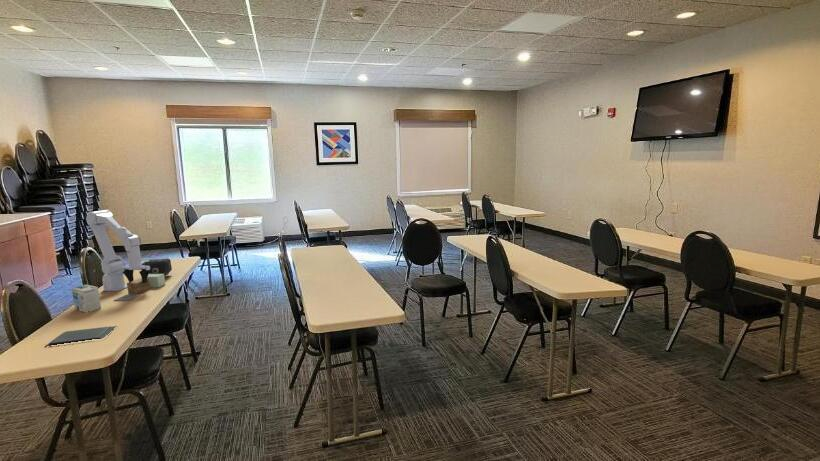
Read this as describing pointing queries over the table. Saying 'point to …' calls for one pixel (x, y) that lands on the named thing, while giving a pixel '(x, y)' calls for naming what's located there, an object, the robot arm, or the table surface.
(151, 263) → the camera
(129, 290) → the brown box
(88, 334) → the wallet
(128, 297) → the slate mat
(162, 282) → the sage cover
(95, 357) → the table surface
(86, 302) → the light bulb box
